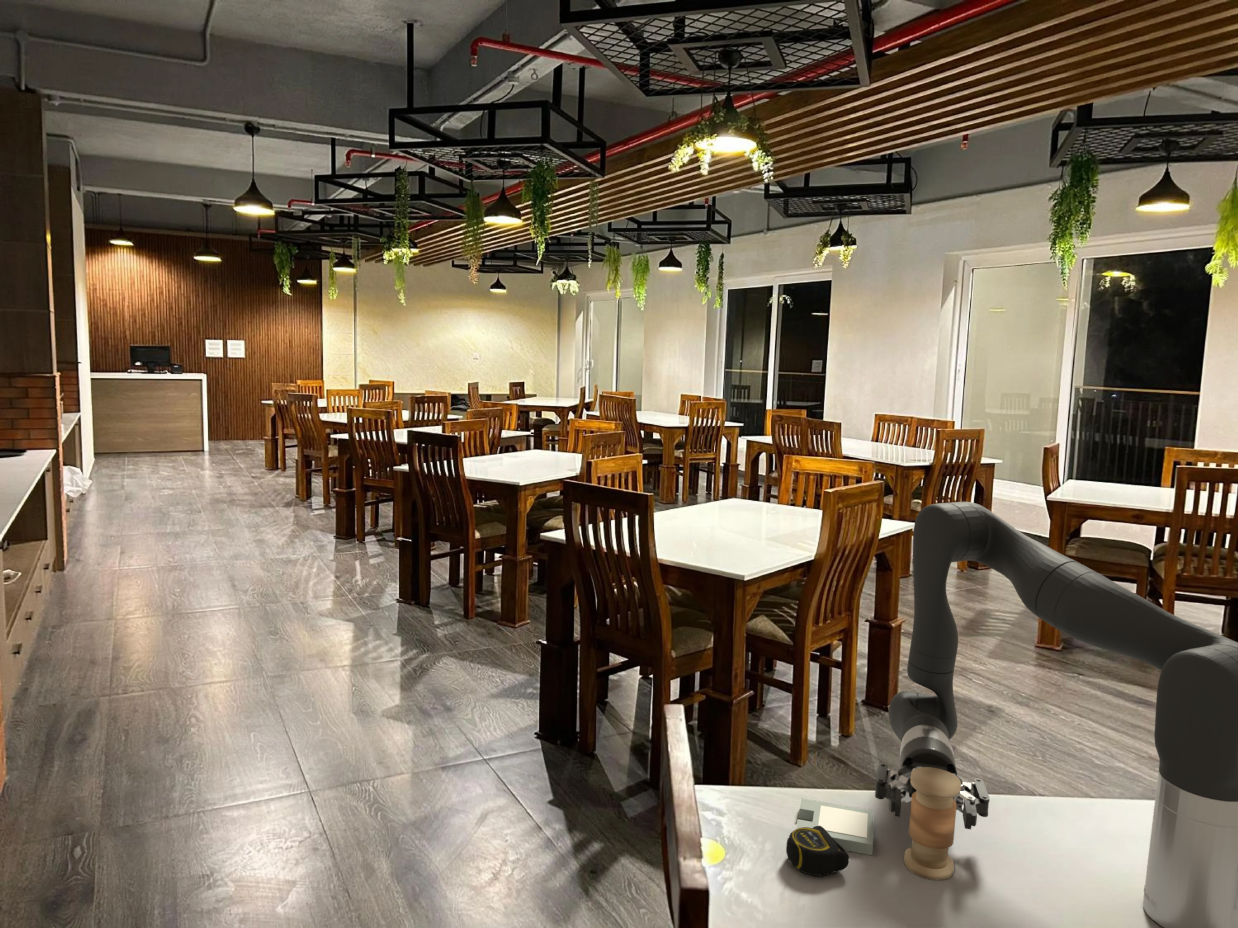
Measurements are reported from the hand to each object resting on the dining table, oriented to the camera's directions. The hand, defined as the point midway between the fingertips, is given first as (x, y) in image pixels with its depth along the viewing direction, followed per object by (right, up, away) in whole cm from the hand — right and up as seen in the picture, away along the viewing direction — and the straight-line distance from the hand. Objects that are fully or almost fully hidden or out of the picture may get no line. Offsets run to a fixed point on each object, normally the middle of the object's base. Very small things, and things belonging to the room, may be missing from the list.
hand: (933, 816), depth 111 cm
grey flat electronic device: (-10, -6, +9) cm, 15 cm away
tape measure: (-15, -7, +1) cm, 16 cm away
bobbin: (0, -7, +1) cm, 7 cm away
